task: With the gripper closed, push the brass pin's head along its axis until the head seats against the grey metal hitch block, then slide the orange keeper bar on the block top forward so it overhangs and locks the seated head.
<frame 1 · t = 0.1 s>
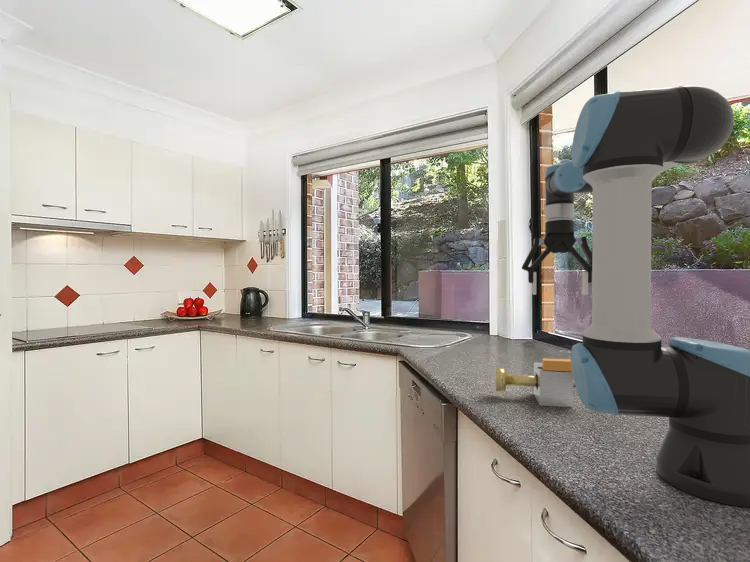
hand: (559, 294, 118), 28 cm above the worktop, fingers open, 13 cm apart
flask: (564, 384, 127), on the worktop
keeper bar: (563, 363, 106), point 11 cm above the worktop, slide at 0.0 cm
pin: (526, 380, 112), point 5 cm above the worktop, slide at 8.0 cm
hitch block: (552, 400, 111), on the worktop
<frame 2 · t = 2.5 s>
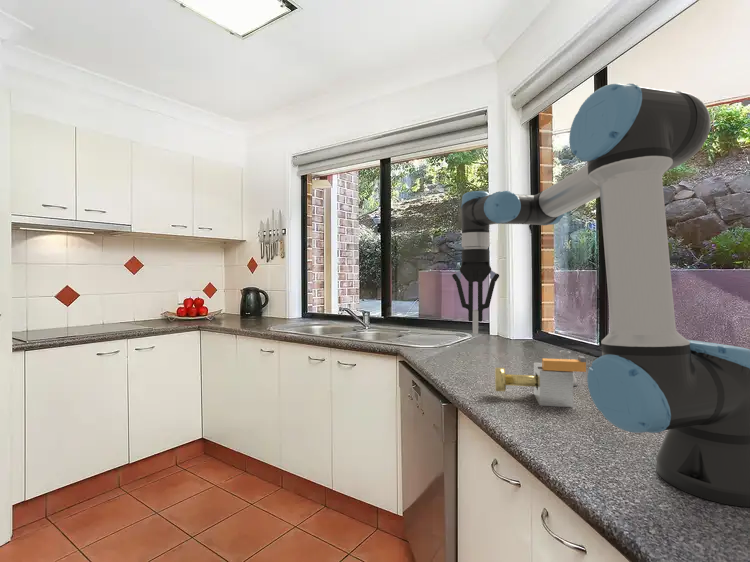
hand: (475, 333, 115), 18 cm above the worktop, fingers closed
nothing on the worktop moved.
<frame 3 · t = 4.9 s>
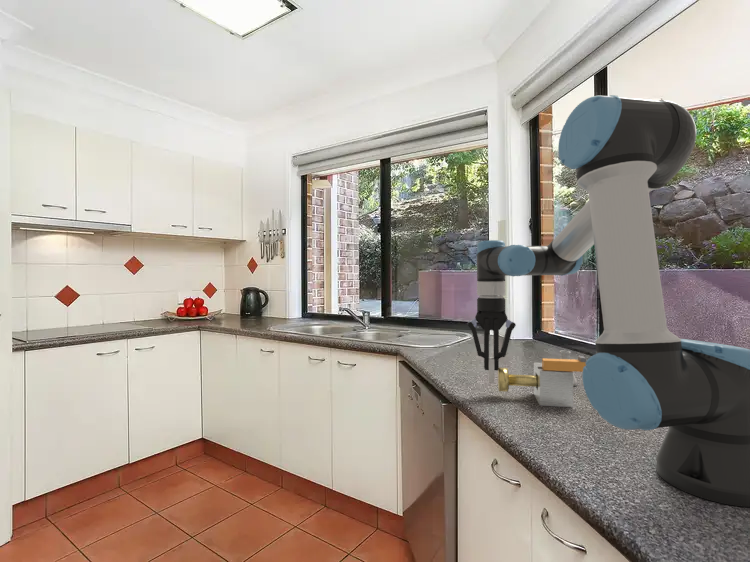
hand: (491, 381, 114), 4 cm above the worktop, fingers closed
pin: (529, 380, 112), point 5 cm above the worktop, slide at 7.2 cm, touching gripper
everything else where it was.
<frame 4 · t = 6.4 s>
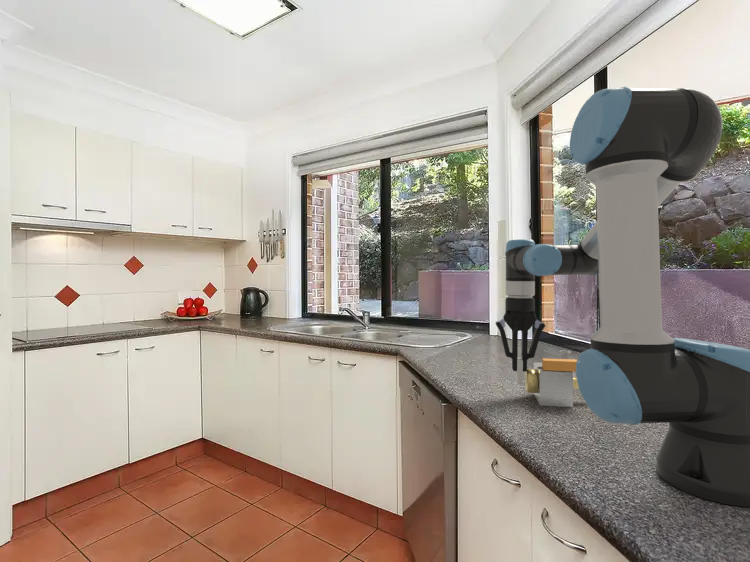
hand: (519, 382, 112), 4 cm above the worktop, fingers closed
pin: (558, 382, 110), point 5 cm above the worktop, slide at -0.1 cm, touching gripper
everything else where it was.
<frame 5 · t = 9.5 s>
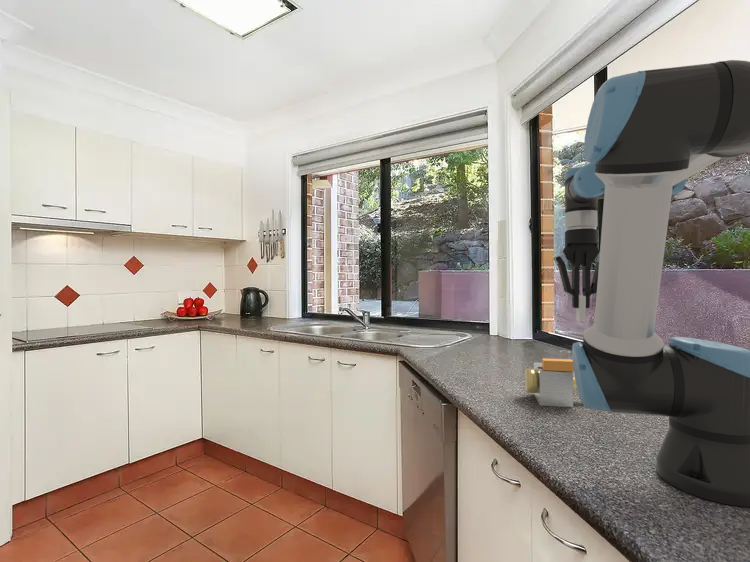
hand: (580, 320, 106), 22 cm above the worktop, fingers closed
pin: (557, 382, 110), point 5 cm above the worktop, slide at 0.0 cm
everything else where it was.
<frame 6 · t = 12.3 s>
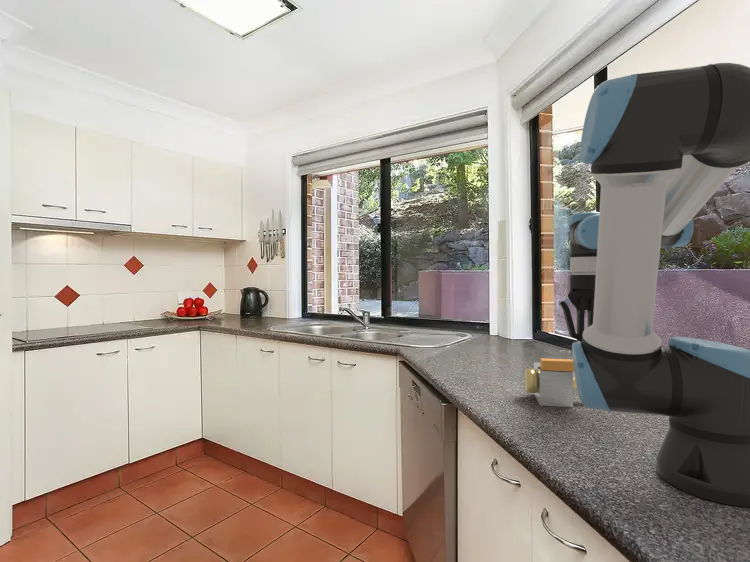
hand: (585, 365, 105), 10 cm above the worktop, fingers closed
keeper bar: (561, 363, 107), point 11 cm above the worktop, slide at 0.4 cm, touching gripper
everything else where it was.
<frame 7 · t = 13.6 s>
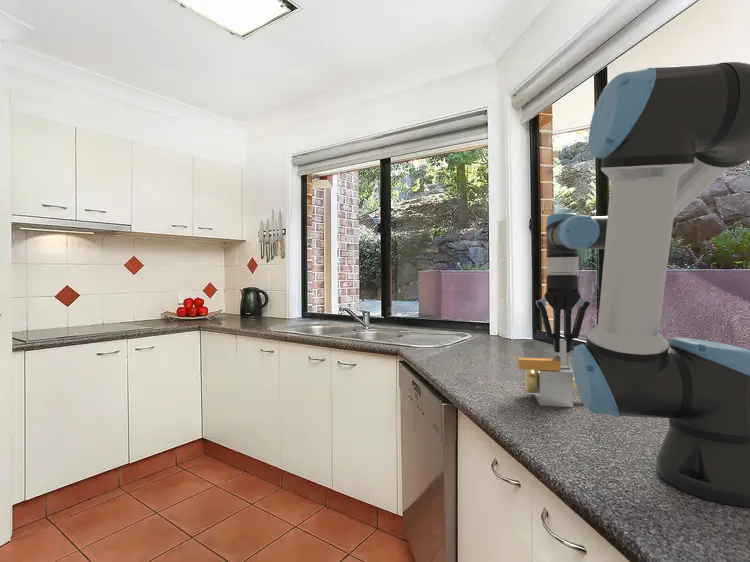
hand: (562, 364, 107), 10 cm above the worktop, fingers closed
keeper bar: (538, 362, 108), point 11 cm above the worktop, slide at 6.0 cm, touching gripper
everything else where it was.
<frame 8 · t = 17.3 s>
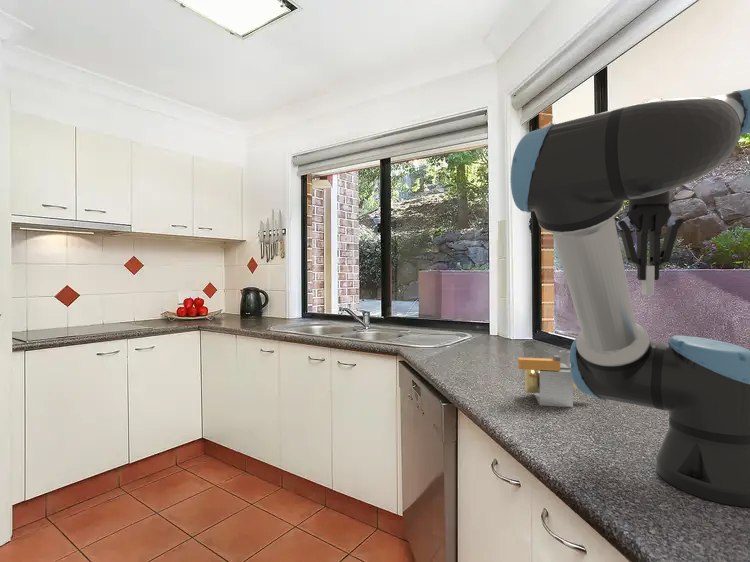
hand: (647, 294, 91), 29 cm above the worktop, fingers closed
keeper bar: (538, 362, 108), point 11 cm above the worktop, slide at 6.0 cm
everything else where it was.
at the end: pin slide at 0.0 cm; keeper bar slide at 6.0 cm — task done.
